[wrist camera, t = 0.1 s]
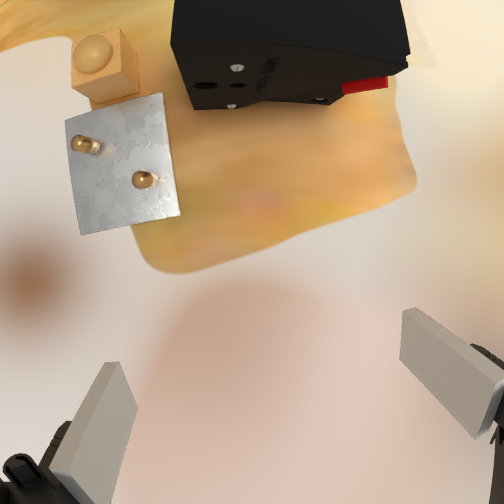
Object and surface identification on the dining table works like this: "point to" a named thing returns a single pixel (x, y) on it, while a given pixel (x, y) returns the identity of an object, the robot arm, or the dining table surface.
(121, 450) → the robot arm
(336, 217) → the dining table surface
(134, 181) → the brass rounded peg
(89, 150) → the amber glass cylinder
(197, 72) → the electrical component
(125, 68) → the cube with dome knob
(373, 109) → the dining table surface
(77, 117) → the plate
